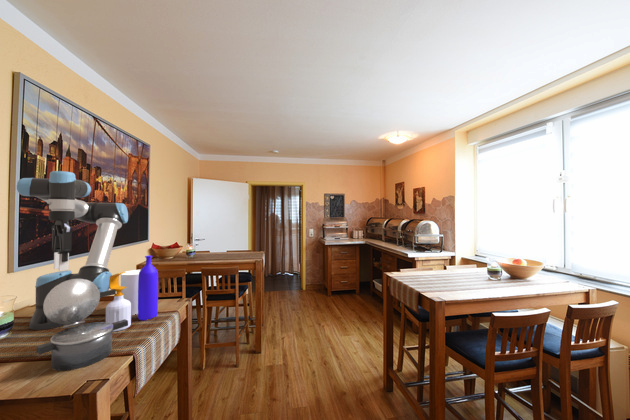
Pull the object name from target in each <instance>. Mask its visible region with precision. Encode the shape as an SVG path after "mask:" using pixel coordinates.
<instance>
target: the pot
mask: <svg viewBox="0 0 630 420" xmlns="http://www.w3.org/2000/svg"><path fill="white" fill-rule="evenodd" d="M125 326H128V320H125V319H124V320H121V321H118V322H115V323H108V322H106V321H98V322H97V321H96V322H90V323H89V322H88V323H82V324H78V325H75V326H71V327H68V328H64V329H63V330H60V331H58V332H57V333H55V334H54V335H52V337H50V342H46V343H43V344H40V345H36V354H38V355H42V354H45V353H49V352H51V361H50V363H51V365H50V366H51V367H50V368H51V369H52V370H54V371H58V372H59V371H60V372H62V371H63V372H67V371H73V370H78V369H82V368H86V367H89V366H91V365H93V364H97V363H99V362H101V361H102V360H104V359H106V358H107V357H108V356H110V355H111V353H112V351H113V332H112V331H113V330H116V329H119V328H122V327H125ZM109 354H110V355H109Z"/></svg>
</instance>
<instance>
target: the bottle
mask: <svg viewBox="0 0 630 420" xmlns="http://www.w3.org/2000/svg"><path fill="white" fill-rule="evenodd" d="M144 258H145V265H144V266H143V267H142V268H141V271H140V272H139V278H138V314H137V318H138V320H140V321H148V320H147V319H150V320H153V319H155V318H157V316H158V312H159V311H158V310H159V309H158V307H159V305H158V304H159V272H158V269H157V268H156V267H155V266H154V265H153V264H152V258H153V255H145V256H144ZM154 317H155V318H154ZM152 318H153V319H152Z"/></svg>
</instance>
